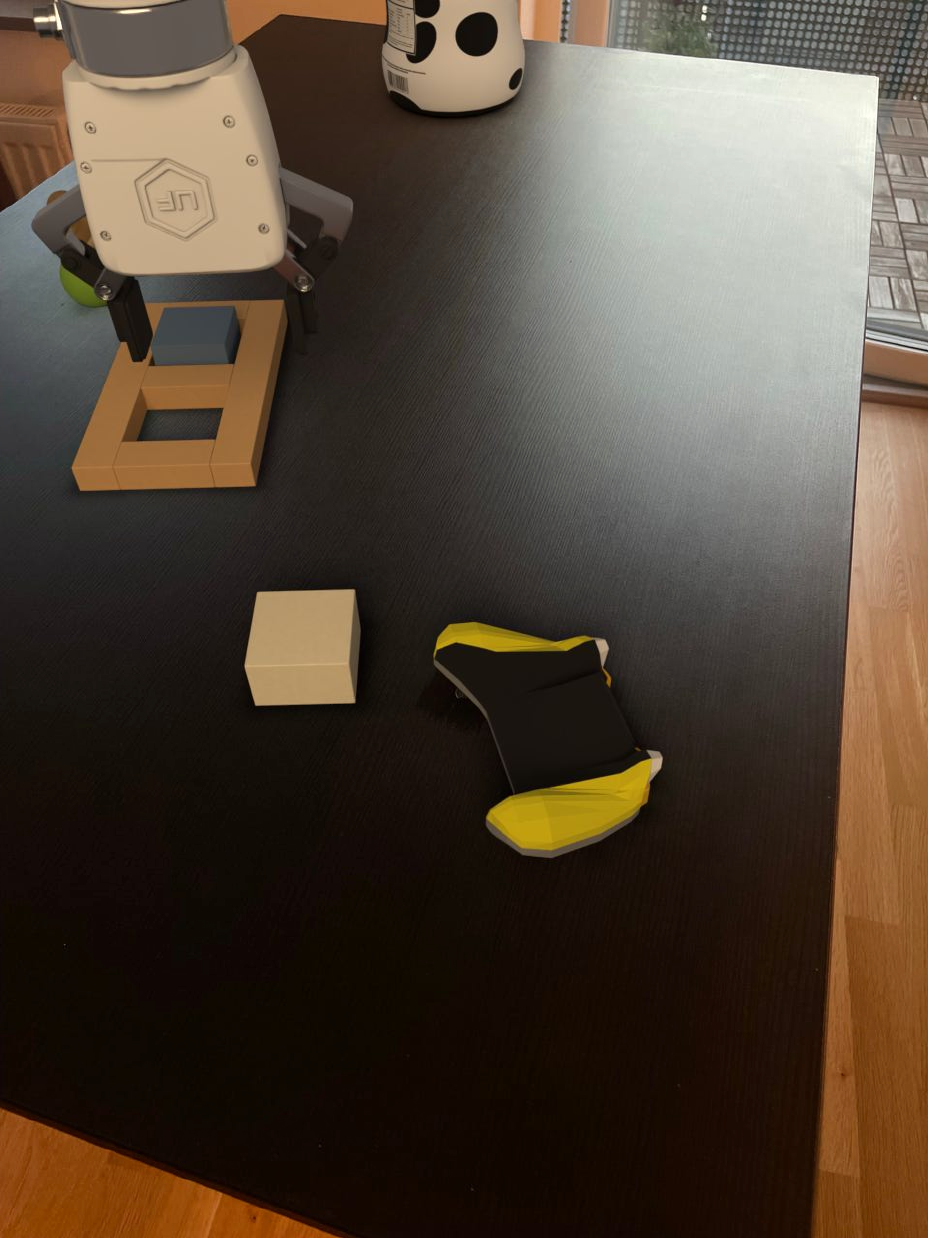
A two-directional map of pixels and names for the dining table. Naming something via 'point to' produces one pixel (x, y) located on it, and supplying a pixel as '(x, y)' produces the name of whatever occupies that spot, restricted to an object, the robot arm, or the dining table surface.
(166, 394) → the frame
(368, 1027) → the dining table surface
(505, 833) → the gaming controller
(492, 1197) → the dining table surface
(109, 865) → the dining table surface
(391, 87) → the milk container
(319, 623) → the cream block
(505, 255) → the dining table surface
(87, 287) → the snail figurine
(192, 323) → the slate block
